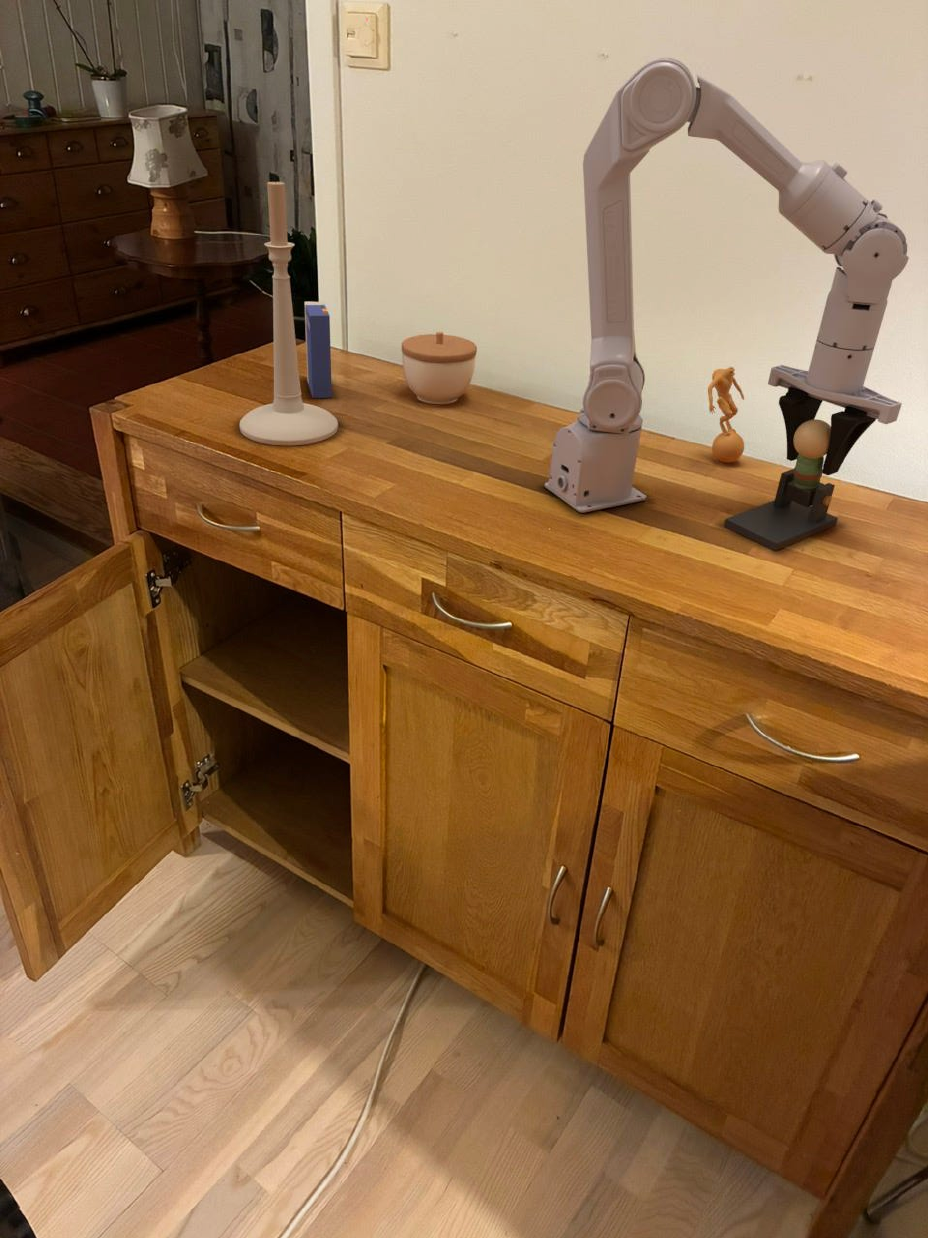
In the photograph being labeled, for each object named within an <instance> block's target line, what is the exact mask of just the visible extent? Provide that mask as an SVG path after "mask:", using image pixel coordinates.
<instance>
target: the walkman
mask: <svg viewBox="0 0 928 1238" xmlns="http://www.w3.org/2000/svg"><path fill="white" fill-rule="evenodd" d="M304 325H305V326H304V327H305V329H304V330H305V332H304V333H305V348H306V349H305V355H306V376H307V378H306V379H307V384H308V388H309V390H310V394H311V397H312V399H327V398H328V399H329V398H330V399H331V398H333V397H332V395H333V392H332V355H331V353H332V351H331V349H332V348H331V318H330V314H329V311H328V309H327V306H326V305H325V303H324V301H304Z"/></svg>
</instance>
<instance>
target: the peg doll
mask: <svg viewBox="0 0 928 1238" xmlns="http://www.w3.org/2000/svg"><path fill="white" fill-rule="evenodd" d="M830 434H831V424H829V423H828V422H826V421H824V420H821V419H814V420H809V421H806V422H804V423H803V424H801V425H800V426H799V427H798V429H797V430H796V432H795V434H794V440H793V442H794V447H795V449H796V451H797V452H798V453H799V454H798V457H797V459H796V462H795V466H794V468H793V469H794V480H792V481H791V482H789V483H788V485H787V491H786V497H785V498H786V499H788V500H791V501H793V502H795V503H798V504H800V505H802V506H805V507H807V508H808V507H810V506H812V503H813V499H814V496H815V492H816V488H817V487H819V486H822V485H825V483H823V482H821V478H822V476H823V465H824V461H825V457H824V456H826V454H827V451H828V447H829V442H830Z"/></svg>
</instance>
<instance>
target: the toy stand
mask: <svg viewBox="0 0 928 1238" xmlns="http://www.w3.org/2000/svg"><path fill="white" fill-rule="evenodd" d="M792 480H794V468H792V469H789V470H785V471H784V472H781V474H780V478H779V481H778V485H777V490H776V493H775V494H776V495H775V497H774V500H771V501H768V502H766V503H764V504H761V505H758V506H755V507H753V508H750V509H747V510H745V511H742V512H739V513H736V514H734V515H732V516H729V517H726V518H725V519H724V524H723V527H725V528H726V529H729V530H730V531H733V532H735V533H737V534H739V535H741V536H743V537H745V538H747V539H749V540H752V541H753V542H755V543H758V544H760V545H762V546H764V547H766V548H768V549H770V550H773V551H774V552H777V551H779V550H781V549H785V548H786V547H789V546H791V545H793V544H795V543H797V542H800V541H802V540H805V539H807V538H809V537H812V536H814V535H816V534H818V533H822V532H824V531H826V530H828V529H831V528H833V527H836V526H837V523H838V520H839V517H837V516H835V515H833V514H830V513H829V512H828V511H829V507H830V504H831V502H832V500H833V499H832V498H833V494H834V490H835V487H836V485H835V484H833V483H831V482H827V483H824V485H822V486H819V487H817V488H816V492H815V496H814V499H813V503H812V505H811V506H810V507H808V508H807V507H805V506H802V505H800V504H798V503H795V502H793V501H791V500H788V499H786V498H785V497H786V491H787V485H788V483H789V482H791V481H792Z"/></svg>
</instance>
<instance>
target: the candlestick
mask: <svg viewBox="0 0 928 1238" xmlns="http://www.w3.org/2000/svg"><path fill="white" fill-rule="evenodd" d="M266 183H267V184H266V186H267V202H268V203H267V204H268V220H269V237H270V241H267V242H264V243H263V246H265V247H266V248H267V250H268V260H269V261H270V262H272V267H273V274H272V276H271V278H272V311H273V312H272V313H273V314H272V317H273V318H272V320H273V321H272V322H273V325H272V326H273V328H272V329H273V330H272V331H273V401H272V403H267V404H265V405H261V406H257V407H256V408H253V409H251V410H250V411H248V412H247V413H246V414H245V415H244V416H243V417H242V418H241V419H240V421H239V431H240V433H241V434H242V435H243V436H244V437H245V438H247V439H249V440H251V441H254V442H258V443H260V444H264V445H265V444H266V445H273V446H301V445H302V446H303V445H309V444H315V443H319V442H321V441H325V440H327V439H329V438H331V437H333V436H334V435H336V434H337V432H338V430H339V422H338V419H337V418H336V417H335V416H334V415H333V414H332V413H331V412H329V411H328V410H327V409H324V408H322V407H321V406H317V405H314V404H311V403H305V402H303V397H302V391H301V389H302V388H301V381H300V372H299V361H298V360H299V359H298V352H297V343H296V342H297V340H296V333H295V331H296V329H295V322H294V321H295V320H294V312H293V302H292V301H293V300H292V292H291V291H292V290H291V276H290V275H289V273H288V267H289V262H290V261H291V260H292V254H291V250H292V249H293V247H295V243H294V242H289V241H288V223H287V202H286V183H285V182H283V181H282V182H281V181H277V178H274V181H268V182H266Z"/></svg>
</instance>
